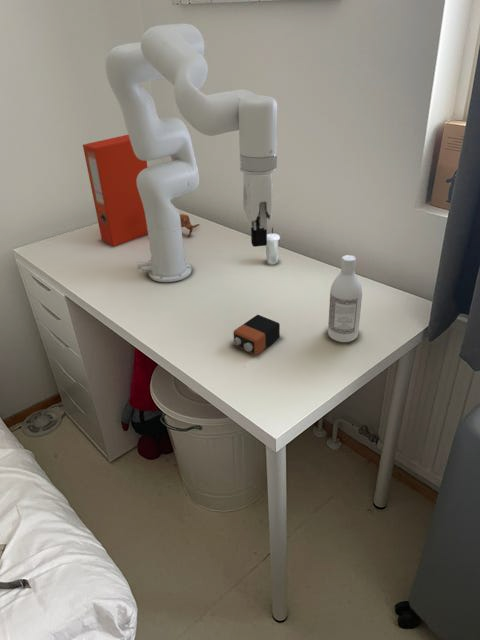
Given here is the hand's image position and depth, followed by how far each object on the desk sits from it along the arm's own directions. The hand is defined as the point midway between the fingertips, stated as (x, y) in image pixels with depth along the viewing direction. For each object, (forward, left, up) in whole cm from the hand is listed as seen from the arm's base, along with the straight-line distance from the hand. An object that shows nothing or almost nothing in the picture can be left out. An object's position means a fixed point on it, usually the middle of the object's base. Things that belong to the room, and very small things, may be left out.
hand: (259, 244), depth 112 cm
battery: (+1, -4, -19) cm, 20 cm away
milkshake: (+10, +33, -21) cm, 41 cm away
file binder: (-34, +65, -21) cm, 76 cm away
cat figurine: (-16, +60, -21) cm, 66 cm away
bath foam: (+18, -9, -21) cm, 29 cm away
